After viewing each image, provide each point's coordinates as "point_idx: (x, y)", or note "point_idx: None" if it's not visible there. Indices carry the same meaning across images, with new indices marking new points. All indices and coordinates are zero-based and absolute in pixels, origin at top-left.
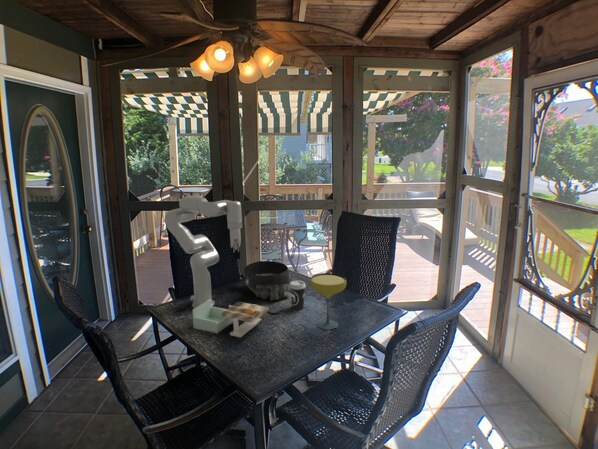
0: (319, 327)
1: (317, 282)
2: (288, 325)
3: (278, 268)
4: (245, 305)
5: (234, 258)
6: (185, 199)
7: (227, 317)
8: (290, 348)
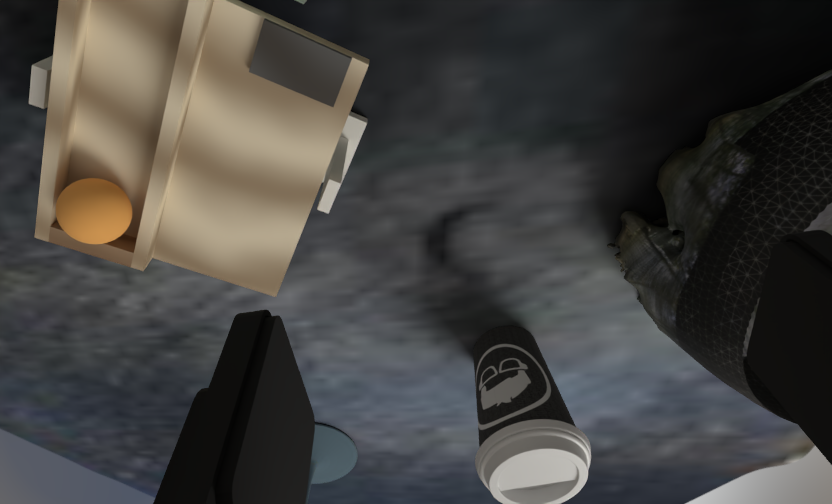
0: None
1: None
2: (290, 320)
3: None
4: (293, 132)
5: (236, 342)
6: None
7: None
8: (57, 338)
